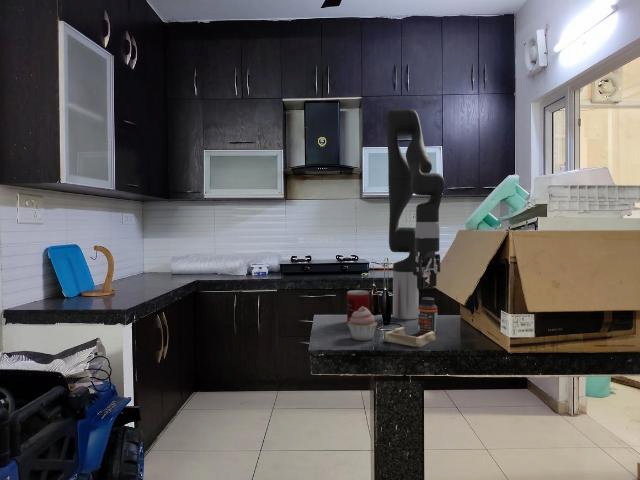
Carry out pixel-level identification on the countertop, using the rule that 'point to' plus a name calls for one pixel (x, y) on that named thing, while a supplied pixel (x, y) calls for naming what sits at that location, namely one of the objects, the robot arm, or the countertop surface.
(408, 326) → the countertop surface
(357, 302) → the canned food
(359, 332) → the cupcake
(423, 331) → the supplement bottle
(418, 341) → the keeper
